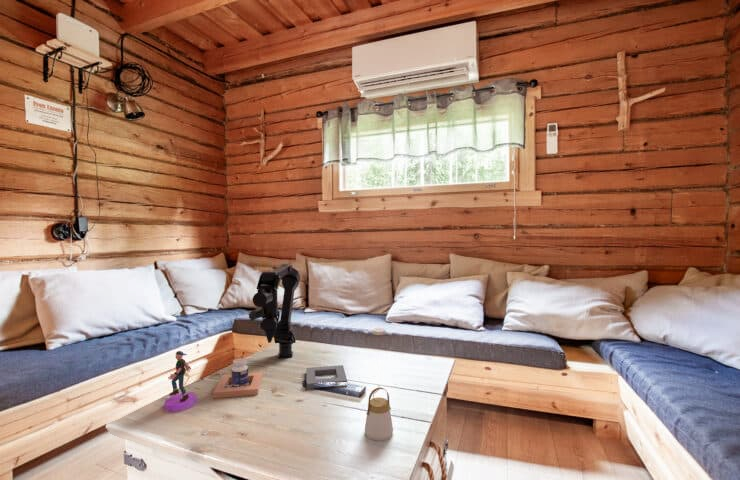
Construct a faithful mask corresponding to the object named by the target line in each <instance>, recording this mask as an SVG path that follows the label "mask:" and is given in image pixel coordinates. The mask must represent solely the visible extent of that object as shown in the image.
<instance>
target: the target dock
mask: <svg viewBox="0 0 740 480" xmlns="http://www.w3.org/2000/svg"><path fill="white" fill-rule="evenodd" d="M263 378H264V372H263V371H257V372H248V382H251V383H250V385H248V386H243V387H232V386H231V387H228V386H229V384H230V383H231V384H232V373H229V374H228V373H227V374H222V376H221V378H220V379H219V381H218V383H217V385H216V386H215V389H214V390H213V391H212V399H221V398H230V397H231V398H232V397H245V396H257V395H259V392H260V389H261V385H262V381H263Z"/></svg>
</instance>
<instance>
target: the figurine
mask: <svg viewBox="0 0 740 480" xmlns="http://www.w3.org/2000/svg"><path fill="white" fill-rule="evenodd" d="M187 355H188V354H187V353H184V352H183V351H181V350H177V351H176V353H175V359H176V363H175V370H176V371H175V372H173V373H171V374H170V375H169V376H168V377H167V378H168V380H169V381H171V386H172V391H171V392H170V393H169V397H168V398H166V399H165V401H164V410H165V411H167V412H171V413H174V412H175V413H176V412H181V411H185V410H187V409H190V408H192V407H193V406H195V405H196V404H197V394H196V393H194V392H187V390H186V389H185V387H184V380H185V378H184V377H185V374H186V372H187V373H191V372H190V371H191V370H192V368H191V366H190V365H189V363H187V362H186V360H185V359H184V358H183V357H184V356H187ZM177 381H178V383H177ZM177 384H178V385H177ZM179 390H180V392H179Z"/></svg>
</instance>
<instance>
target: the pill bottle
mask: <svg viewBox="0 0 740 480" xmlns="http://www.w3.org/2000/svg"><path fill="white" fill-rule="evenodd" d="M232 365H233V366H232V368H231V374H232V382H231V387H243V386H249V381H248V373H249V366H248V365H247V359H246V358H236V359H233V360H232Z"/></svg>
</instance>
